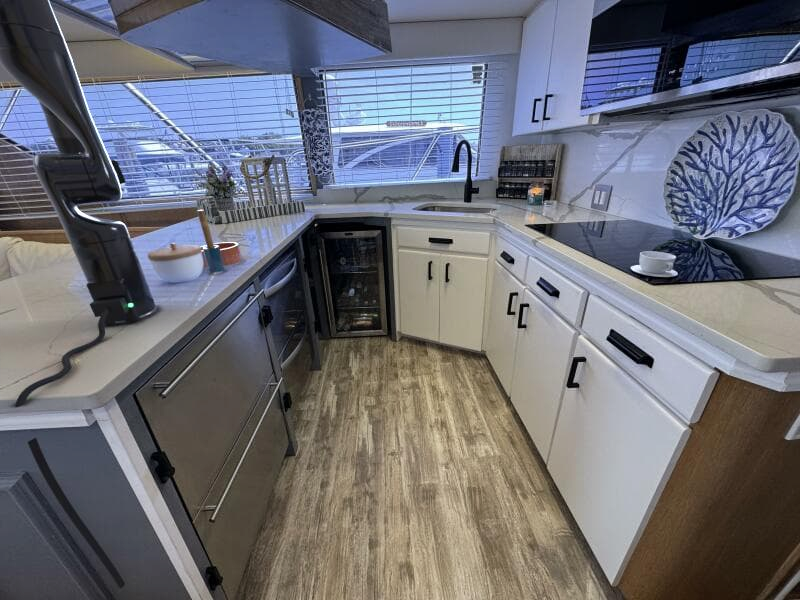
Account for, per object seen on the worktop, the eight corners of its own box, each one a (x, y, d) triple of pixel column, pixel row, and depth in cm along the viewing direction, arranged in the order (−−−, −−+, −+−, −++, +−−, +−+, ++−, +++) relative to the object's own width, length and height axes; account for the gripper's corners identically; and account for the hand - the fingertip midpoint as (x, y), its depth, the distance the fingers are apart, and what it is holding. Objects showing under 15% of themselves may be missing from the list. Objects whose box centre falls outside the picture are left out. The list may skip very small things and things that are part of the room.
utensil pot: (223, 273, 98) (216, 248, 95) (208, 275, 97) (200, 249, 94) (226, 269, 102) (220, 244, 99) (212, 271, 101) (205, 246, 98)
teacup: (621, 267, 89) (625, 251, 87) (656, 265, 89) (661, 249, 87) (648, 279, 80) (653, 261, 78) (687, 277, 80) (694, 259, 78)
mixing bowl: (238, 267, 104) (233, 248, 102) (196, 271, 102) (191, 252, 99) (245, 257, 115) (241, 240, 113) (208, 260, 113) (203, 244, 110)
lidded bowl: (173, 291, 85) (159, 251, 81) (149, 284, 91) (135, 246, 87) (218, 277, 95) (207, 240, 91) (194, 271, 101) (183, 237, 97)
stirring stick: (219, 270, 99) (202, 210, 91) (213, 271, 98) (196, 210, 91) (221, 268, 100) (204, 209, 93) (214, 269, 100) (198, 210, 93)
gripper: (30, 136, 74) (64, 207, 82) (109, 136, 82) (133, 201, 90) (34, 134, 79) (65, 201, 87) (108, 135, 87) (130, 196, 95)
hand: (99, 201), depth 89 cm, fingers open, 8 cm apart
